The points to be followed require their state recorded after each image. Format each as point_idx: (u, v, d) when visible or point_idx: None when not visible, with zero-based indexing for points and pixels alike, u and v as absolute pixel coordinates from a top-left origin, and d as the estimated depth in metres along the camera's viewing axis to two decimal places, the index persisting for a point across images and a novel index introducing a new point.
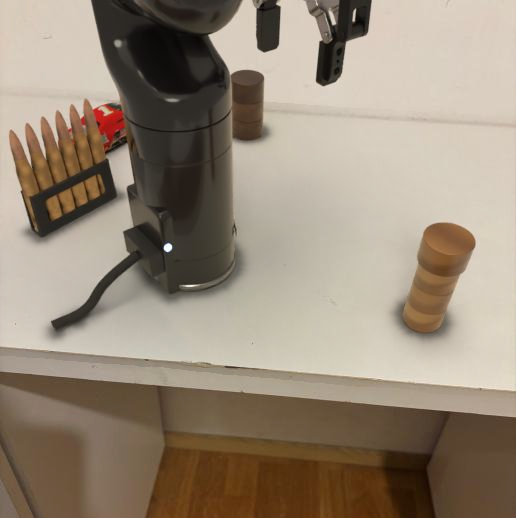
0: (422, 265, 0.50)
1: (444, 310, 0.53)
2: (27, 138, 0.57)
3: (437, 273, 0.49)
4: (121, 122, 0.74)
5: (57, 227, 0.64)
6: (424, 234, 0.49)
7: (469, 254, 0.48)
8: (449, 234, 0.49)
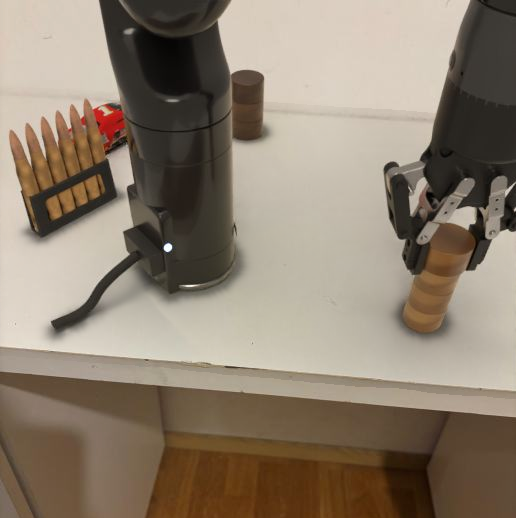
0: None
1: (444, 310, 0.53)
2: (27, 138, 0.57)
3: (437, 273, 0.49)
4: (121, 122, 0.74)
5: (57, 227, 0.64)
6: None
7: (470, 254, 0.48)
8: (449, 234, 0.49)
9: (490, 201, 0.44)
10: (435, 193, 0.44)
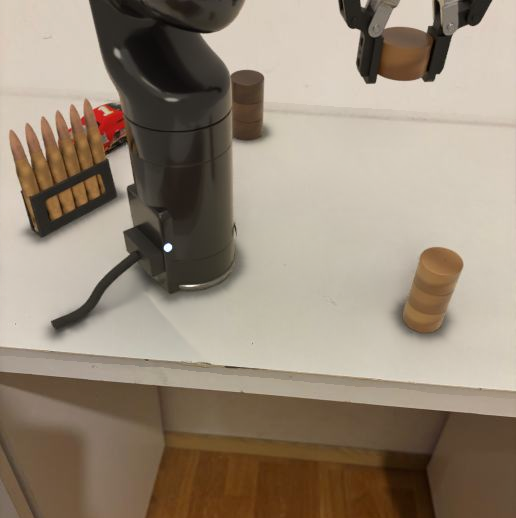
0: None
1: (444, 310, 0.53)
2: (27, 138, 0.57)
3: (392, 77, 0.46)
4: (121, 122, 0.74)
5: (57, 227, 0.64)
6: None
7: (426, 51, 0.45)
8: (405, 34, 0.46)
9: None
10: None
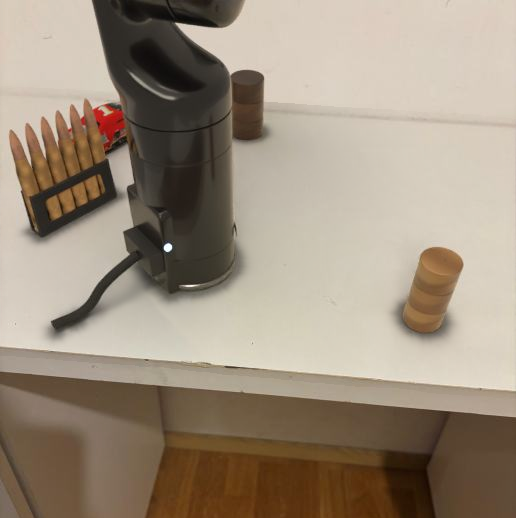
0: None
1: (444, 310, 0.53)
2: (27, 138, 0.57)
3: None
4: (121, 122, 0.74)
5: (57, 227, 0.64)
6: None
7: None
8: None
9: None
10: None
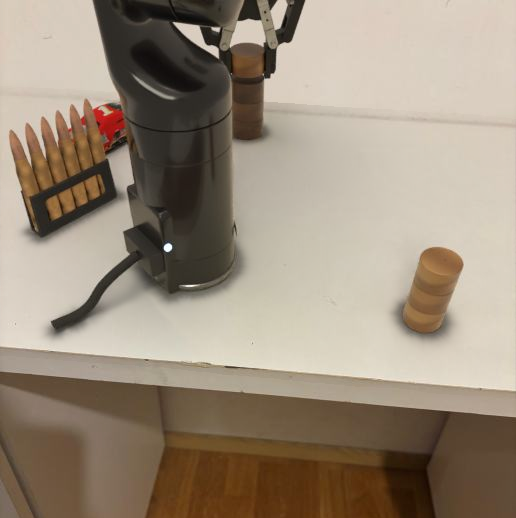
0: (231, 71, 0.72)
1: (444, 310, 0.53)
2: (27, 138, 0.57)
3: (240, 75, 0.71)
4: (121, 122, 0.74)
5: (57, 227, 0.64)
6: (230, 48, 0.71)
7: (259, 59, 0.70)
8: (248, 48, 0.71)
9: (261, 13, 0.66)
10: None
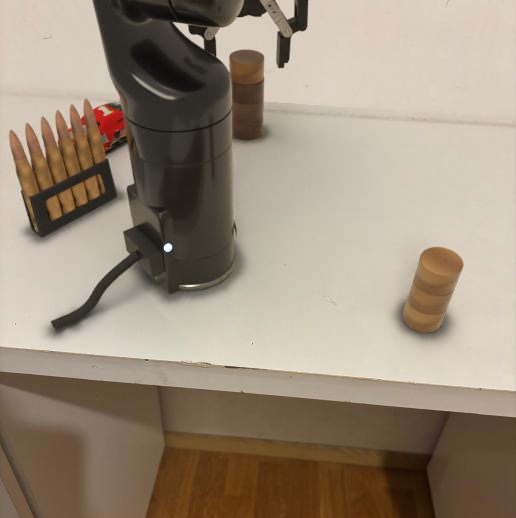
0: (231, 78, 0.72)
1: (444, 310, 0.53)
2: (27, 138, 0.57)
3: (239, 82, 0.72)
4: (121, 122, 0.74)
5: (57, 227, 0.64)
6: (230, 54, 0.72)
7: (258, 65, 0.71)
8: (247, 55, 0.72)
9: (266, 8, 0.66)
10: None
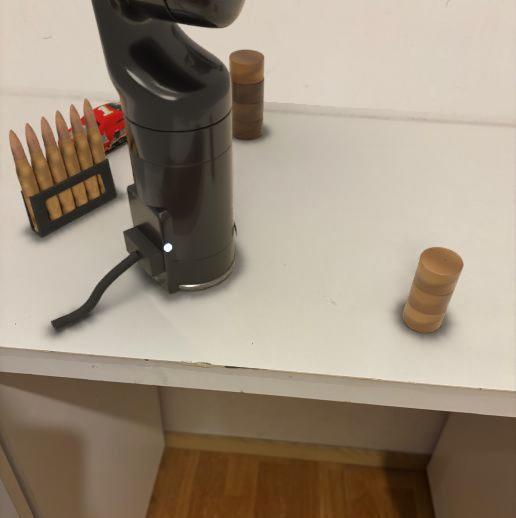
0: (231, 78, 0.72)
1: (444, 310, 0.53)
2: (27, 138, 0.57)
3: (239, 82, 0.72)
4: (121, 122, 0.74)
5: (57, 227, 0.64)
6: (230, 54, 0.72)
7: (258, 65, 0.71)
8: (247, 55, 0.72)
9: None
10: None
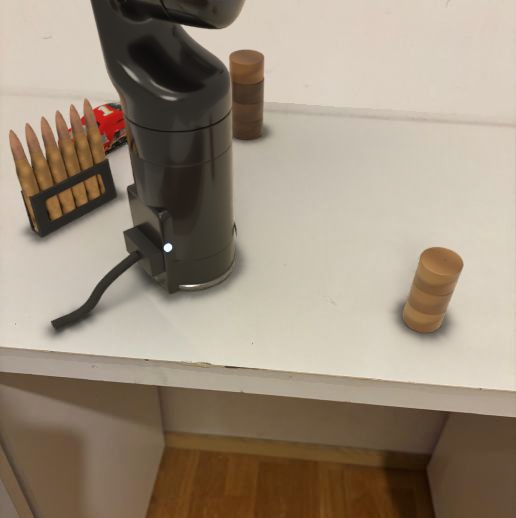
0: (231, 78, 0.72)
1: (444, 310, 0.53)
2: (27, 138, 0.57)
3: (239, 82, 0.72)
4: (121, 122, 0.74)
5: (57, 227, 0.64)
6: (230, 54, 0.72)
7: (258, 65, 0.71)
8: (247, 55, 0.72)
9: None
10: None
